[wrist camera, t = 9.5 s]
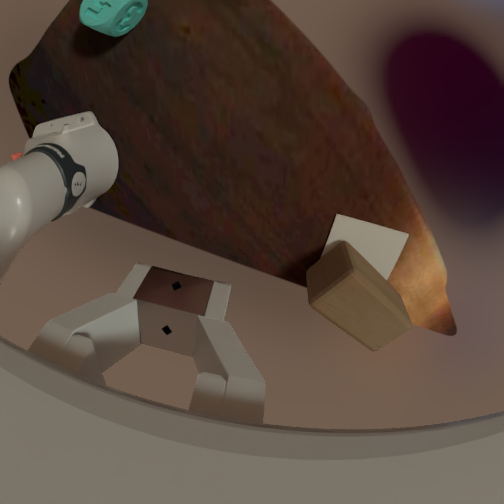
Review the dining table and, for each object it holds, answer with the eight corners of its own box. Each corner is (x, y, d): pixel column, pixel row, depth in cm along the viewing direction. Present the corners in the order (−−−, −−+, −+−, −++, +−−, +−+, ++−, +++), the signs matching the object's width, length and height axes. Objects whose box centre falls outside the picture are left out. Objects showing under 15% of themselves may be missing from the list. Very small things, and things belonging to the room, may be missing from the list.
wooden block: (303, 269, 54) (364, 319, 60) (306, 306, 46) (373, 354, 52) (343, 236, 50) (400, 293, 56) (355, 270, 41) (414, 328, 47)
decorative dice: (97, 22, 33) (70, 17, 26) (124, -13, 29) (100, -25, 22) (126, 39, 35) (101, 34, 28) (155, 2, 31) (134, -10, 25)
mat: (315, 270, 55) (315, 271, 54) (336, 213, 48) (336, 214, 48) (383, 284, 55) (384, 285, 55) (408, 234, 49) (409, 234, 49)
